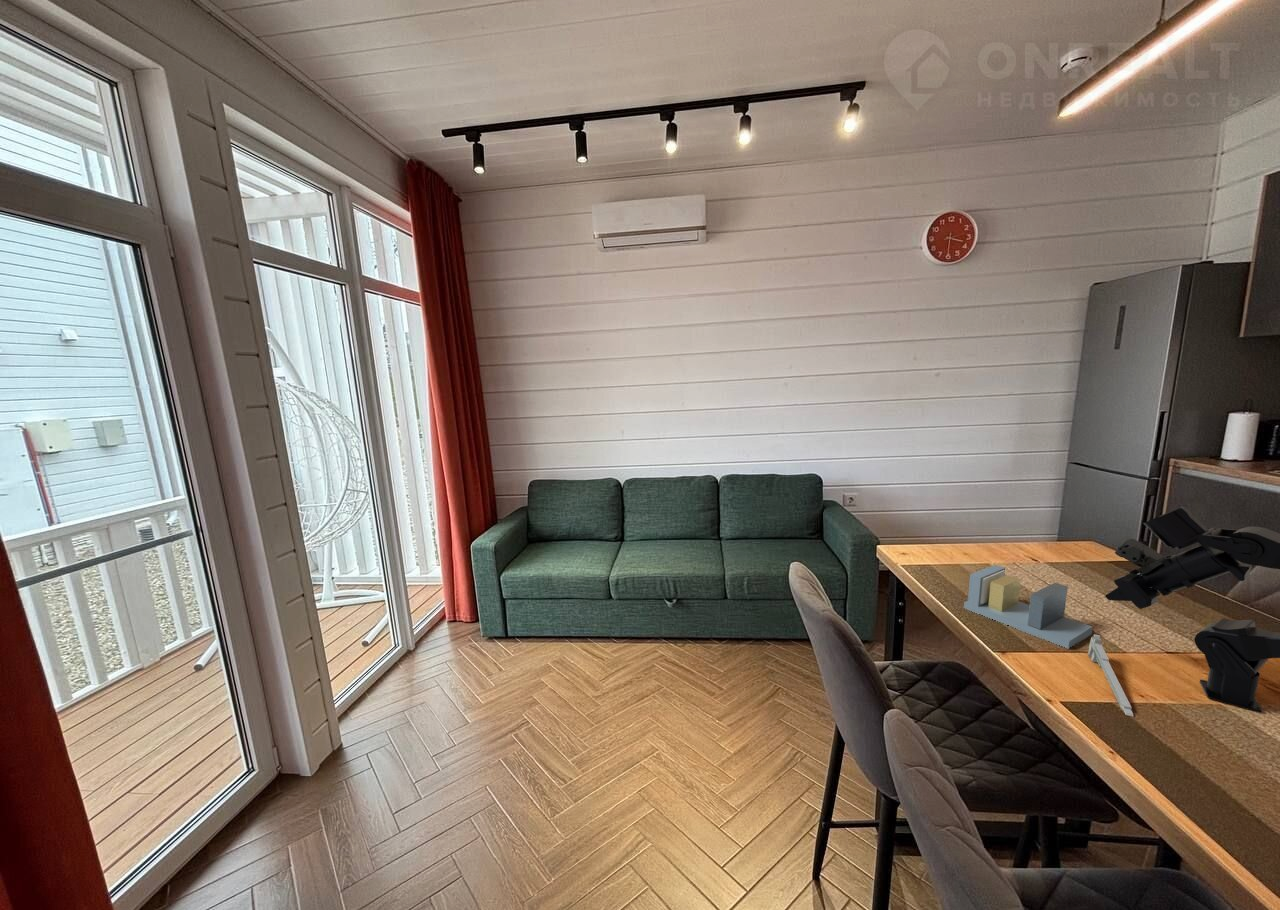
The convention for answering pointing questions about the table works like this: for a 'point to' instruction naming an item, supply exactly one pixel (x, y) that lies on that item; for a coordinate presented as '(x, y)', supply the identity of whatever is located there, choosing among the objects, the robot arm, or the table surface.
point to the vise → (1020, 612)
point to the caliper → (1108, 672)
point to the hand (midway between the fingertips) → (1107, 597)
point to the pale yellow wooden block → (1004, 593)
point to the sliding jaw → (1047, 605)
